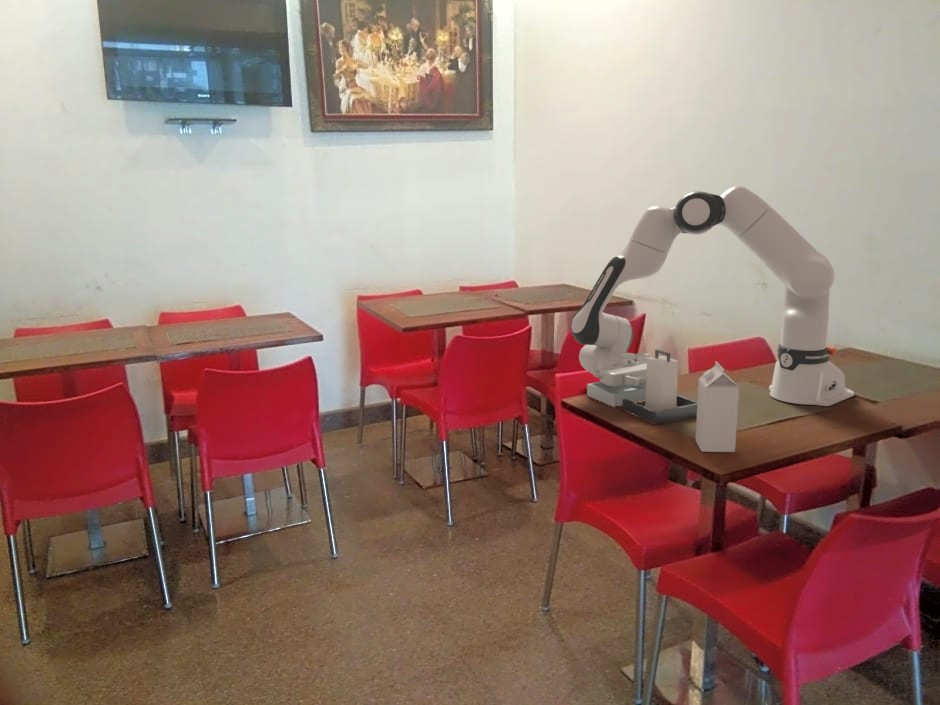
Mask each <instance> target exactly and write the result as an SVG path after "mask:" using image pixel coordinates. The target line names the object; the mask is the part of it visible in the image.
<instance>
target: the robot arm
mask: <svg viewBox="0 0 940 705" xmlns="http://www.w3.org/2000/svg"><path fill="white" fill-rule="evenodd" d="M716 225H719V226H720V225H721V226H723V227H724V228H727V229H728V230H730V232H732V233H733V235H734V236H735V237H737V238H738V239H739V240H740V241H741V242H742V243H743V244H744V245H745V246H746V247H747V248H748V249H750V251H751V252H753V253H754V254H755V256H757V257H758V258H759V259H760V260H761V261H762V262H763V264H765V266H766V267H767V268H768V269H769V270H770V271H771V272H772V273H773V274H774V275H775V276H776V278H778V279H779V280H780V281H781V282H782V283H783V284H784V286H783V287H784V288H783V289H784V290H783V301H782V302H783V305H782V318H781V319H782V320H781V332H780V333H781V334H780V343H779V344H778V348H777V358H778V360H777V361H776V362H775V364H774V371H773V376H772V380H771V381H772V382H771V384H769V386H768V391H770V392H769V396H770V397H772V398H773V399H775V400H778V401H781V402H783V403H784V402H786V403H791V404H796V405H814V406H821V407H822V406H823V407H829V406H832V405H834V404H837V403H839V402H842V401H844V400H847V399H849V398H851V397H854V396H855V392H854V391H853V390H852V389H849V388H847V387H846V377H845V376H846V375H845V374H844V372H843V370H841V369H840V368H838V366H836V365H835V364H834V363H833V362H832V361H830V359H831V358H830V355H832V356H835V355H836V354H837V351H838V349H837V348H836V347H831V346H828V347H827V340H828V339H827V338H828V337H827V336H828V326H829V315H830V314H829V313H830V312H829V309H830V308H829V307H830V304H829V303H830V289H831V288H832V286H833V284H834V282H835V271H834V267H833V266H832V264H831V263H830V261H829V259H828V258H827V257H826V256H825V255H824V254H823V253H821V252H819V251H818V250H817V249H816V248H815V247H814V246H812V244H810V242H809V241H807V240H806V239H805V238H804V236H802V234H800V233H799V232H798V230H796V229H795V227H793V226H792V225H791V224H790V223H789V222H788V221H787V220H786V219H785V218H784V217H783V216H782V215H780V213H778V212H777V210H776V209H774V208H773V207H772V206H771V205H770V204H768V202H766V201H765V200H764V199H762V198H761V197H760V196H759V195H758V194H756V193H754V192H753V191H751V190H750V189H748V187H747V188H746V187H745V186H742V185H735V186H732V187H730V188H728V189H727V190H725V191H724V192H723V193H722V194H720V195H718V194H714V193H709V192H705V191H698V190H697V191H691V192H689V193H686V194H684V195H683V196H682V197H681V198H680V199H679V200H678V202H677V204H676V205H675V206H674V207H671V208H670V207H666V206H661V205H655V206H650V207H648V208H646V210H645V212H644V213H643V214H642V215H641V217H640V219H639V221H638V222H637V224H636V226H635V228H634V230H633V232H632V233H631V237H630V239H629V241H628V243H627V244H626V246H625V247H624V249H623V250H622V251H621V252H620V253H619V254H618V255H617V256H614V257H613V258H611V259H610V261H608V263H607V264H606V266H605V267H604V269H603V270H602V272H601V274H600V275H599V277H598V278H597V280H596V282H595V284H594V286H593V288H592V289H591V291H590V292H589V294H588V296H587V298H586V299H585V300H584V302H583V304H582V306H581V307H579V309H578V310H577V312H576V313H575V314H574V316H572V319H571V322H570V331H571V334H572V337H573V338H574V340H575V341H576V342H577V343H578V344H580V345H584V346H583V347H582V348H581V349H580V351H579V355H578V358H579V363H580V365H581V366H582V368H584V370H586V371H587V372H589V373H590V374H592V375H593V376H594V377H595V378H597V379H599V382H602V383H604V384H606V385H608V386H610V387H618V386H623V385H635V386H640V385H642V384H643V383H642V382H645V381H646V368H647V358H652V357H651V356H650V354H649V353H644V352H642V353H641V352H637V353H636V352H635V353H633V352H628V351H629V349H630V347H631V345H632V342H633V338H634V331H633V326H632V324H631V322H630V320H628V319H627V318H625V317H621V316H618V315H614V314H609V313H606V312H604V310H605V308H606V307H607V304H608V303H609V302H610V300H611V298H612V296H613V295H614V294H615V291H616V290H617V288H618V287H619V286H620V285H622V284H624V283H626V282H630V281H633V280H639V279H640V280H641V279H645V278H650V277H652V276H653V275H655V274H657V273H658V272H659V271H660V270H661V269H662V267H663V266H664V264H665V261H666V260H667V256H668V253H669V252H670V250H671V247H672V245H673V243H674V241H675V239H676V238H677V236H679V235H680V234H690V235H702V234H704V233H706V232H708V231H710V230H711V229H712V228H713V227H715V226H716Z"/></svg>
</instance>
